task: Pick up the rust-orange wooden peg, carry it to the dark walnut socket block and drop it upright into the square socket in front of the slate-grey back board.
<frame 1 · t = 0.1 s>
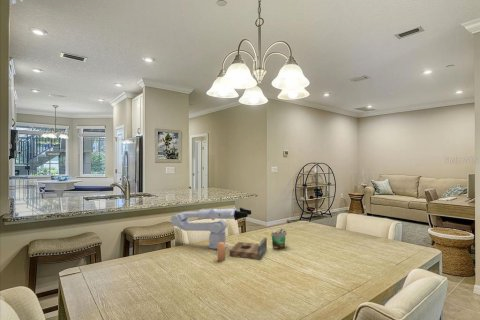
hand: (249, 213, 155), 22 cm above the table, tool horizontal, fingers open, 7 cm apart
peg: (221, 260, 140), on the table
socket block: (245, 252, 152), on the table
food container: (281, 248, 159), on the table
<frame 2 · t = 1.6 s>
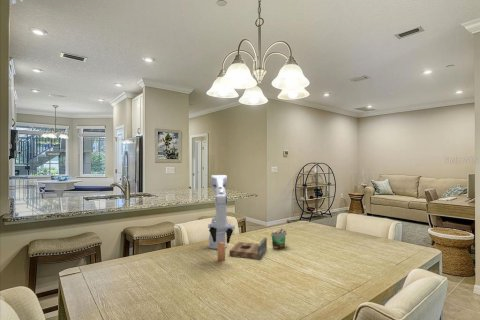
hand: (221, 242, 140), 9 cm above the table, tool pointing down, fingers open, 7 cm apart
nothing on the table moved.
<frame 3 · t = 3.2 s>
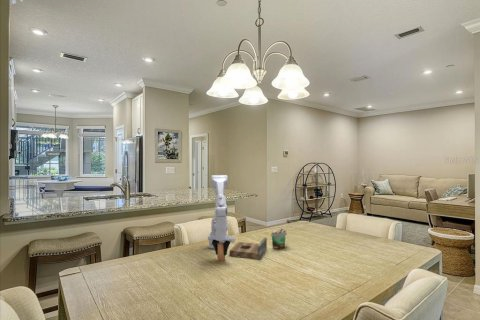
hand: (221, 254, 140), 3 cm above the table, tool pointing down, fingers closed on peg, 4 cm apart
peg: (221, 260, 140), on the table, touching gripper
everything else where it was.
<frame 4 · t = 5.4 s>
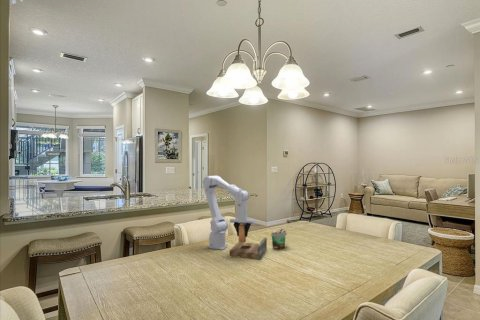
hand: (242, 236, 150), 10 cm above the table, tool pointing down, fingers closed on peg, 4 cm apart
peg: (242, 241, 150), point 7 cm above the table, touching gripper
everything else where it was.
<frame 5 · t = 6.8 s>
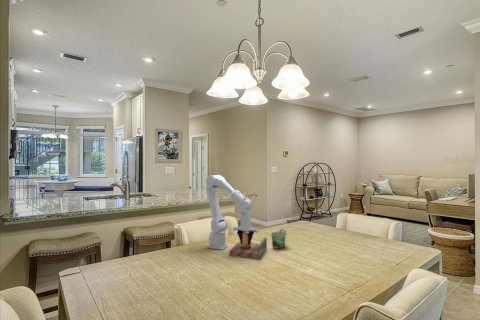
hand: (245, 243, 152), 5 cm above the table, tool pointing down, fingers closed on peg, 4 cm apart
peg: (245, 249, 151), point 2 cm above the table, touching gripper
everything else where it was.
when the fingers open (4 cm above the table, at t = 7.8 s): peg drops 1 cm, resting in socket block.
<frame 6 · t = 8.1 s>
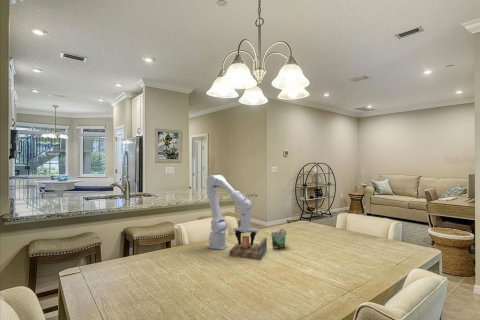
hand: (245, 244, 152), 4 cm above the table, tool pointing down, fingers open, 7 cm apart
peg: (245, 252, 151), resting in socket block
everything else where it was.
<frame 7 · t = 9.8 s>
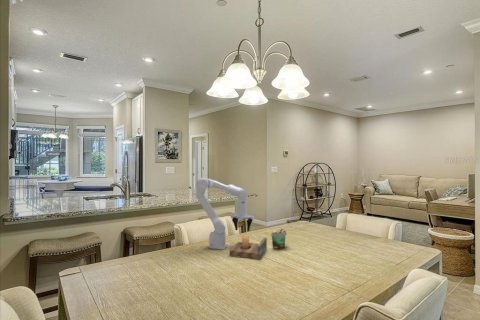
hand: (242, 230, 164), 9 cm above the table, tool pointing down, fingers open, 7 cm apart
nothing on the table moved.
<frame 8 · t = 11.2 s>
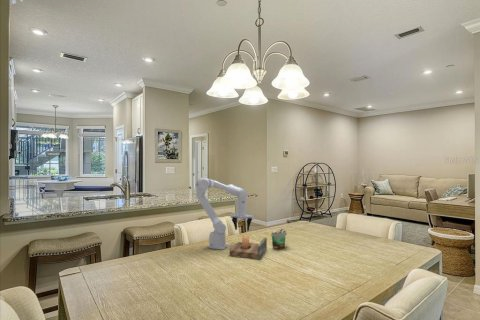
hand: (242, 229, 165), 9 cm above the table, tool pointing down, fingers open, 7 cm apart
nothing on the table moved.
at the end: peg 0.2 cm off-centre on the socket block, point 0.0 cm above the socket block's base; peg tilted 0°; the gripper is holding nothing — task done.
